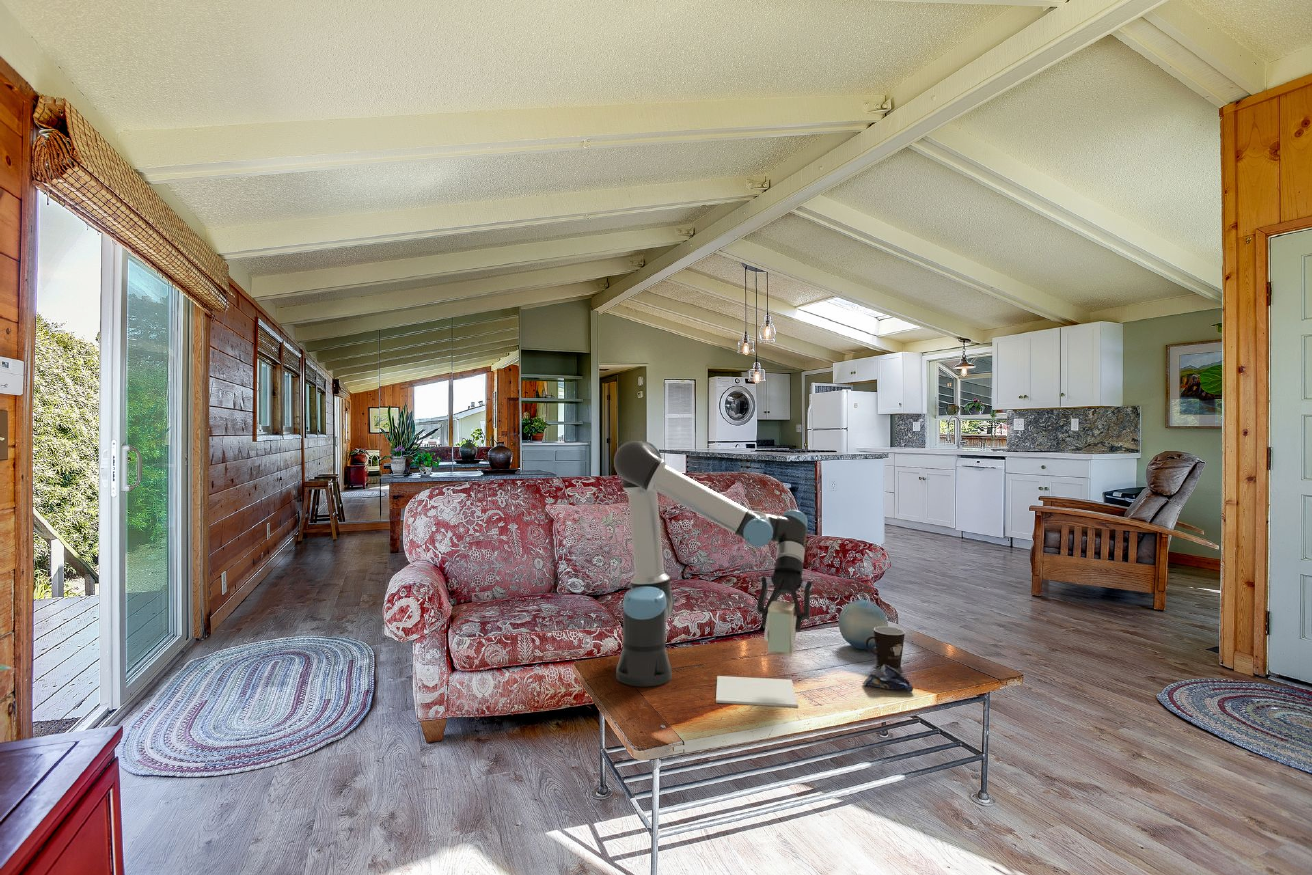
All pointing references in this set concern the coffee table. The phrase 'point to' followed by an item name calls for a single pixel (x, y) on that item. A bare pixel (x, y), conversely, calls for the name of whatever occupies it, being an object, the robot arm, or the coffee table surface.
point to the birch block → (780, 628)
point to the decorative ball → (861, 623)
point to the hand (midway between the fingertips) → (779, 640)
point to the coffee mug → (888, 646)
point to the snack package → (888, 679)
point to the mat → (756, 691)
